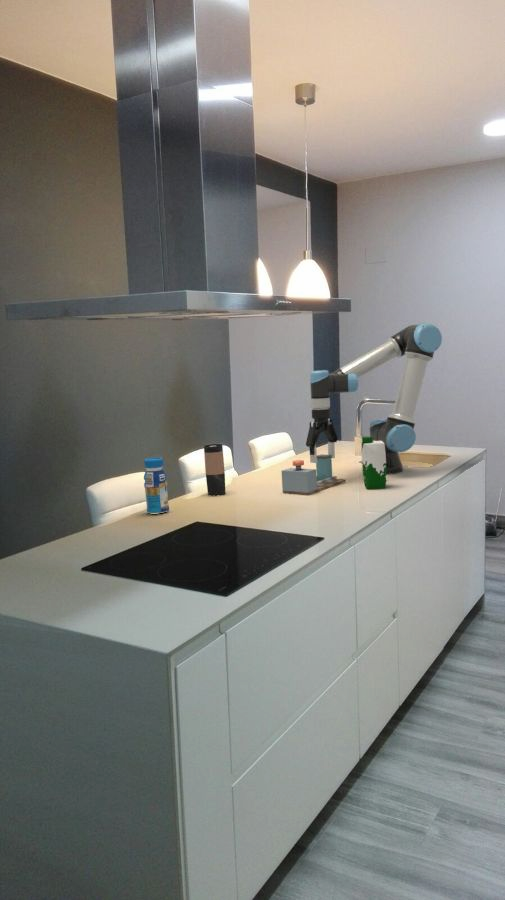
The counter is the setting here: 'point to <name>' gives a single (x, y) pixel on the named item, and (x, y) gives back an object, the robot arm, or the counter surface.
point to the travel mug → (214, 469)
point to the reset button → (298, 464)
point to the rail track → (321, 485)
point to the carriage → (324, 467)
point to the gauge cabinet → (299, 480)
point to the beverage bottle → (155, 486)
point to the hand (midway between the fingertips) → (322, 460)
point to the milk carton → (373, 463)
